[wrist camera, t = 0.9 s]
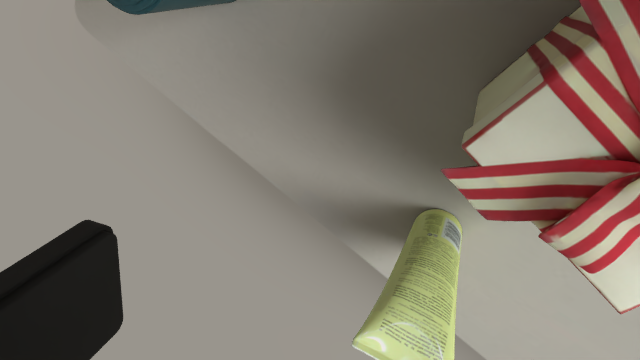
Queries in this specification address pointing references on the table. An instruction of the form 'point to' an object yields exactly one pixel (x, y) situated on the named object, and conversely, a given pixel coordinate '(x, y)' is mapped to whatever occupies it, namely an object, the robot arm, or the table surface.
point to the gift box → (568, 145)
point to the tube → (418, 296)
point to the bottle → (160, 5)
